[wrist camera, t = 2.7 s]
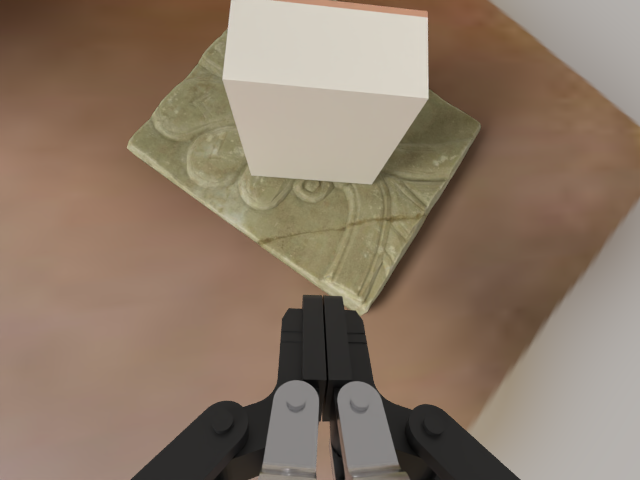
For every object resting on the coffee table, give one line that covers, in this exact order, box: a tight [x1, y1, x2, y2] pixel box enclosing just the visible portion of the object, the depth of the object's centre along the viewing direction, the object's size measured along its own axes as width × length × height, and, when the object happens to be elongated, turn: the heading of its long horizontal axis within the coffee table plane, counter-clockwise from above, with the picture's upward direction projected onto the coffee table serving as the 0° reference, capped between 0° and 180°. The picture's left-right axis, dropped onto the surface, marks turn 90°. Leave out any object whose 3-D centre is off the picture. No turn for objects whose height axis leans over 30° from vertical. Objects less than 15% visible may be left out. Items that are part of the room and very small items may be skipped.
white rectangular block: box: [222, 0, 429, 184], centre depth 19 cm, size 8×4×10 cm, turn 87°
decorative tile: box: [127, 0, 481, 316], centre depth 26 cm, size 19×20×4 cm
